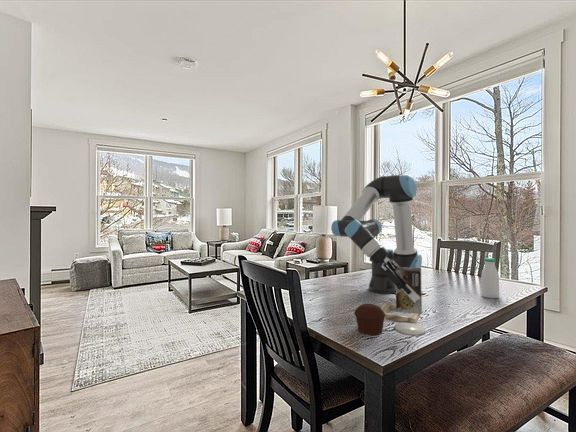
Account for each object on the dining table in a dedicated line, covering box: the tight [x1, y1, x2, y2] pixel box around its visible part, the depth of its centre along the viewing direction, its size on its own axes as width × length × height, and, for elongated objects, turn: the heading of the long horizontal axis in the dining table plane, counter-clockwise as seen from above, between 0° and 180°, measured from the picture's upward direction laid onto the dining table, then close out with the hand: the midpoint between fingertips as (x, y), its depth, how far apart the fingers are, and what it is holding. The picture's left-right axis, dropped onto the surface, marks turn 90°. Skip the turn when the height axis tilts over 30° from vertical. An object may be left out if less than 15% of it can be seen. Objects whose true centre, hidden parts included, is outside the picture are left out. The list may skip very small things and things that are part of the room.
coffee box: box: [395, 267, 423, 314], centre depth 120 cm, size 9×6×16 cm
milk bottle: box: [480, 257, 500, 299], centre depth 162 cm, size 8×8×20 cm
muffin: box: [353, 303, 385, 337], centre depth 120 cm, size 12×11×10 cm
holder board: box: [380, 302, 422, 324], centre depth 137 cm, size 16×16×2 cm
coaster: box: [394, 322, 426, 336], centre depth 121 cm, size 11×11×1 cm
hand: (418, 297), depth 118 cm, fingers closed on coffee box, 7 cm apart
